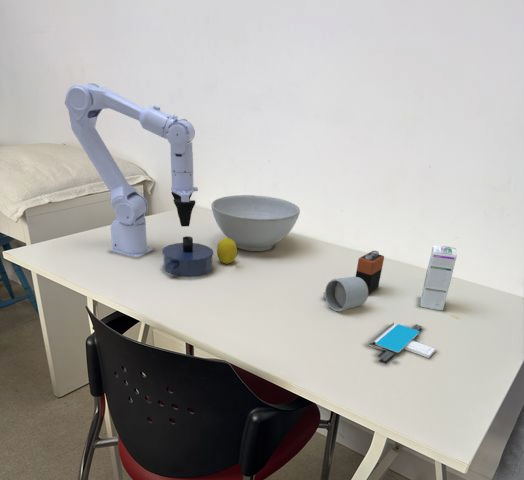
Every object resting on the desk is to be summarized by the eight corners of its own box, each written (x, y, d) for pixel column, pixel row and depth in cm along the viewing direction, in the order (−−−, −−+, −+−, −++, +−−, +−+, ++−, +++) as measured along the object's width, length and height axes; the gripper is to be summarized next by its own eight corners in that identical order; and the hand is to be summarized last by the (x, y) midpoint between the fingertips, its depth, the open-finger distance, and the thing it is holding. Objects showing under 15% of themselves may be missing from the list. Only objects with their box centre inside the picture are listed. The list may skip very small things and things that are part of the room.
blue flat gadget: (413, 374, 97) (415, 367, 96) (358, 353, 103) (360, 346, 102) (447, 337, 111) (449, 331, 110) (397, 320, 117) (398, 314, 116)
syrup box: (443, 311, 123) (458, 255, 116) (418, 306, 124) (432, 251, 117) (442, 302, 128) (457, 247, 120) (419, 298, 129) (432, 244, 122)
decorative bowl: (245, 226, 173) (247, 190, 166) (311, 245, 160) (316, 207, 154) (192, 244, 153) (192, 204, 147) (263, 267, 141) (266, 224, 134)
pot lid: (155, 260, 128) (154, 242, 126) (172, 244, 140) (171, 227, 137) (205, 266, 127) (205, 249, 124) (218, 249, 138) (218, 233, 136)
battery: (378, 288, 133) (385, 252, 128) (367, 295, 128) (374, 258, 123) (364, 283, 135) (370, 248, 130) (352, 290, 130) (358, 254, 125)
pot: (148, 275, 130) (147, 257, 128) (185, 255, 145) (185, 239, 142) (190, 286, 126) (190, 268, 124) (224, 264, 141) (225, 247, 138)
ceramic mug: (368, 309, 121) (373, 279, 117) (343, 316, 117) (348, 286, 113) (338, 293, 128) (342, 265, 125) (314, 300, 124) (317, 270, 120)
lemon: (237, 262, 143) (238, 235, 139) (234, 269, 138) (235, 241, 134) (218, 260, 143) (219, 233, 139) (215, 267, 138) (215, 239, 134)
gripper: (200, 176, 126) (201, 229, 132) (194, 165, 138) (195, 214, 145) (172, 176, 124) (174, 230, 131) (168, 165, 136) (171, 214, 143)
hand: (183, 221), depth 138 cm, fingers open, 7 cm apart
